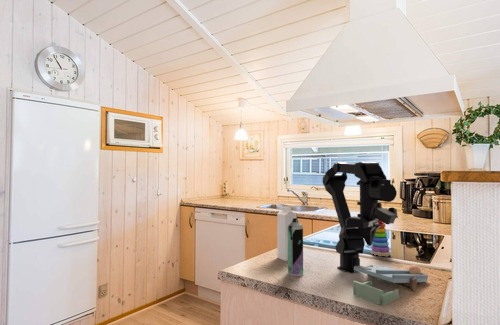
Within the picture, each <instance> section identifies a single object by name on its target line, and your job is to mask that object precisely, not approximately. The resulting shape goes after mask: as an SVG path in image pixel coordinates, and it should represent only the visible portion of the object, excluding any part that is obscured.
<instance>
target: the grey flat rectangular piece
mask: <svg viewBox="0 0 500 325" xmlns="http://www.w3.org/2000/svg"><path fill="white" fill-rule="evenodd" d="M354 270H355V271H356V272H360V274H361V273H362V274H365V275H367V274H368V275H371V276H374V277H377V278H380V279H383V280H386V281H389V282H393V283H403V284H407V283H410V279H411V278H414V277H415V278H417V283H427V282H428V274H425V273H423V272H421V273H420V274H419V275H412V274H410V272H409V269H396V268H391V267H388V266H373V267H367V266H362V265H360V266H354Z"/></svg>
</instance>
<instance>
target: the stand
mask: <svg viewBox="0 0 500 325" xmlns="http://www.w3.org/2000/svg"><path fill="white" fill-rule="evenodd" d="M366 267H374V265H373V264H369V265H367V266H366ZM366 276H367V277H369V278H373V279H375V280H379V281H382V282H384V283H388V284H391V285H394V286H397V287H400V288H404V289H407V290H410V291H412V292H413V291H416V290H417V289H418V282H417V278H415V277H414V278H411V279H410V285H409V284H407V283H393V282H389V281H386V280H383V279H380V278H377V277H374V276H371V275H368V274H366Z"/></svg>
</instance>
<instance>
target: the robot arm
mask: <svg viewBox="0 0 500 325" xmlns="http://www.w3.org/2000/svg"><path fill="white" fill-rule="evenodd" d="M348 174H350V175H354V177H355V178H358V181H357V182H356V185H357V186H359V201H357V202H356V204H357V206H359V213H356V214H357V215H356V216H355V215H354V216H353V215H351V212H350V209H349V205H348V202H347V199H346V195H345V192H344V191H345V188H346V182H347V180H348ZM322 184H323V187H324V189H325V191H326V192H327V193H328V194H329V195H330V196H331V199H332V201H333V205H334V206H333V207H334V209H335V212H336V216H337V220H338V222H339V226H340V231H339V234H338V238H339V239H338V242H337V243H336V244H335V251H336V253H337V254H339V266H337V269H338V270H341V271H344V272H347V273H356V272H357V271H355V270H354V266H361V258H360V254H362V255H363V252H364V249H365V245H367V246H368V247H371V246H372V242H373V239H374V236H375V233H376V230H377V229H378V228H380V227H381V226H382V225H380V224H379V222H378V221H382V222H383V223H384V224H385V225H390V224H392V225H393V224H395V220H396V219H398V218H399V216H398V211H397V208H395V207H391V206H390V207H389V208H384V207H382V205H383V204H382V203H381V202H385V203H391V202H393V201H395V199H396V197H397V192H398V191H397V190H396V187H395V186H394V185H393V184H392V183H391V179H387V176H386V175H385V173H384V171H383V168H382V167H381V166H380V163H379V162H378V161H365V162H364V161H359V162H355V163H350V162H343V161H342V162H341V161H340V162H339V161H337V162H334V164H333V165H332V166H331V167H330V168H329V169H328V170H326V171H325V172H324V175H323V177H322Z"/></svg>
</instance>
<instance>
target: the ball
mask: <svg viewBox="0 0 500 325" xmlns="http://www.w3.org/2000/svg"><path fill="white" fill-rule="evenodd" d="M408 270H409V272H410V274H412V275H419V274H420V273H422V272H421V267H419V266H418V265H417V264H411V265H410V266H409V267H408Z"/></svg>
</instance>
